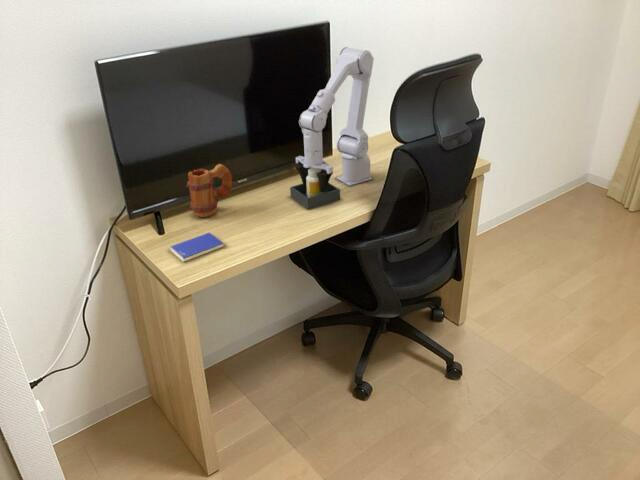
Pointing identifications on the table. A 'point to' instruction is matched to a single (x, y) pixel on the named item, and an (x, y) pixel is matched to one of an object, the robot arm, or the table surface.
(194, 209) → the mug
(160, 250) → the table surface
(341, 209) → the table surface
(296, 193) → the bin
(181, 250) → the hard drive
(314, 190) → the supplement bottle
